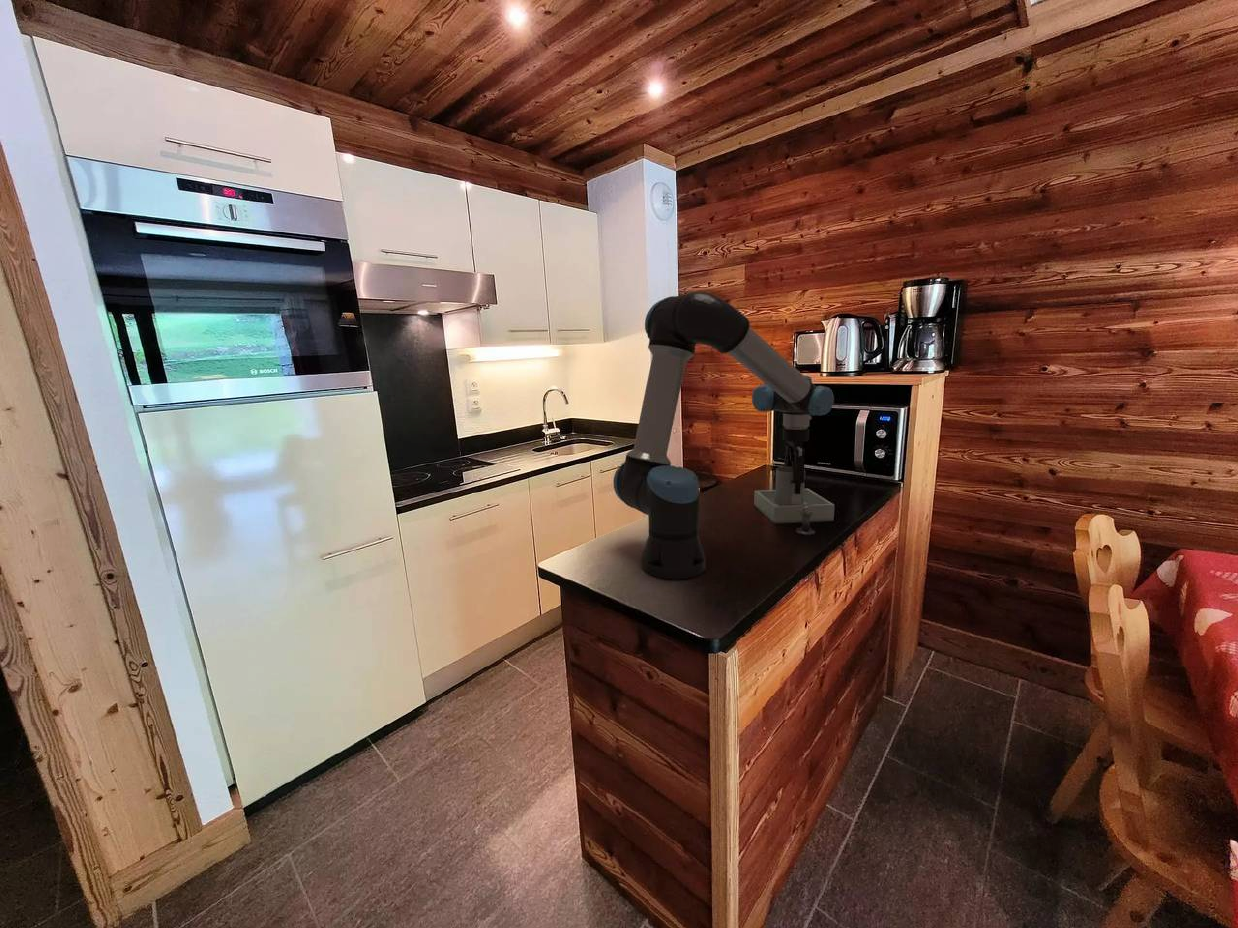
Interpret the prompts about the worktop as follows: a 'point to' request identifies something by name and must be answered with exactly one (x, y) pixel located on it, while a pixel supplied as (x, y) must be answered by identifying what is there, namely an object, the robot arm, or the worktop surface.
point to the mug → (785, 487)
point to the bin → (793, 507)
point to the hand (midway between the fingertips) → (792, 498)
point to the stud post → (806, 520)
